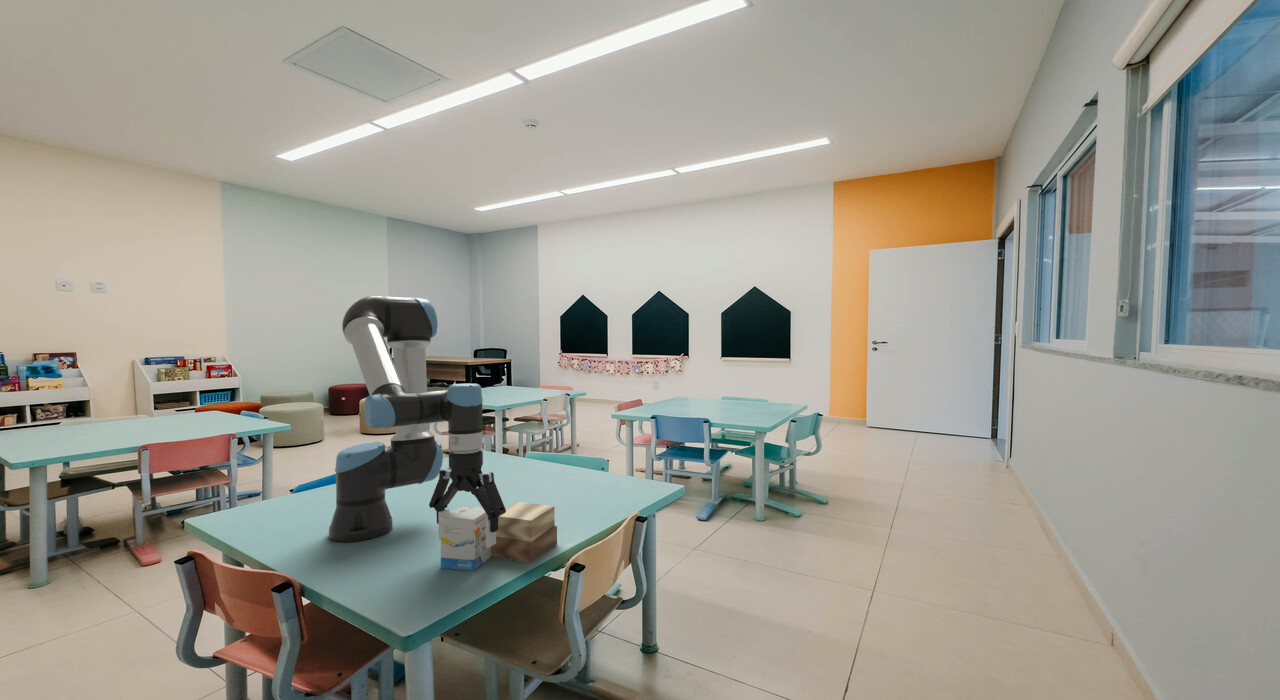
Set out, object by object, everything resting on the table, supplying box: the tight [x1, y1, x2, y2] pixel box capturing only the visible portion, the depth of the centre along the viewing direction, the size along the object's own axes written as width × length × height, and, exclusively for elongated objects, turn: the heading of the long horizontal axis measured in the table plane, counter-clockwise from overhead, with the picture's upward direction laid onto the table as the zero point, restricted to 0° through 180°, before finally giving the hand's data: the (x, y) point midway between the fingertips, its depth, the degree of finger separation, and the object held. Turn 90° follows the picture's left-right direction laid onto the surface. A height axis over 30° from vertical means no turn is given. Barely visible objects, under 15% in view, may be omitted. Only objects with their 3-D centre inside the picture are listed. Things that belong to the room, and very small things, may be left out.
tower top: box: [496, 501, 556, 542], centre depth 125 cm, size 11×11×5 cm
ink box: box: [440, 506, 492, 572], centre depth 118 cm, size 9×8×12 cm
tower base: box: [491, 525, 558, 564], centre depth 126 cm, size 12×12×5 cm
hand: (467, 541), depth 118 cm, fingers open, 13 cm apart
